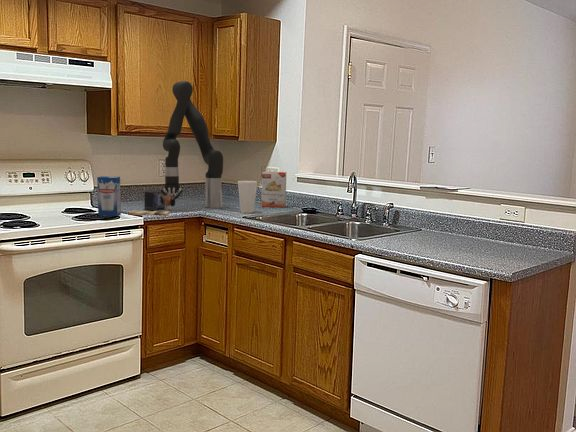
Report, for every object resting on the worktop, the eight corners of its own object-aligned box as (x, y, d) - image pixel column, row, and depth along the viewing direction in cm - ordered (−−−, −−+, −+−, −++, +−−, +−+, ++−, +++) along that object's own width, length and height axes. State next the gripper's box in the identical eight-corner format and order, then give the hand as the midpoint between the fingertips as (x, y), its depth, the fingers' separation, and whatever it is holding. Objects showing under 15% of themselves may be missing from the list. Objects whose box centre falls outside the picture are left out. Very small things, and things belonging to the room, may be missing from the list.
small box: (152, 211, 333) (152, 192, 332) (143, 210, 337) (143, 191, 335) (165, 209, 342) (165, 190, 341) (157, 208, 346) (156, 189, 344)
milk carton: (121, 214, 317) (120, 176, 314) (117, 216, 310) (116, 177, 308) (102, 214, 317) (101, 176, 314) (98, 216, 311) (97, 177, 308)
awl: (170, 211, 332) (170, 195, 330) (169, 212, 329) (169, 196, 327) (165, 211, 332) (165, 195, 330) (164, 212, 329) (164, 195, 327)
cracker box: (261, 207, 359) (261, 171, 356) (262, 205, 365) (263, 171, 362) (284, 207, 357) (285, 172, 354) (285, 206, 363) (286, 171, 360)
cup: (249, 210, 343) (249, 180, 340) (260, 212, 335) (261, 181, 333) (233, 212, 335) (233, 181, 333) (244, 214, 328) (245, 182, 325)
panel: (169, 213, 326) (169, 211, 326) (166, 215, 317) (166, 213, 317) (132, 212, 326) (132, 210, 326) (128, 214, 317) (128, 212, 317)
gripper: (184, 174, 340) (185, 205, 343) (161, 174, 340) (162, 205, 342) (182, 175, 333) (183, 207, 335) (158, 175, 333) (159, 206, 335)
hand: (172, 206), depth 339 cm, fingers closed
